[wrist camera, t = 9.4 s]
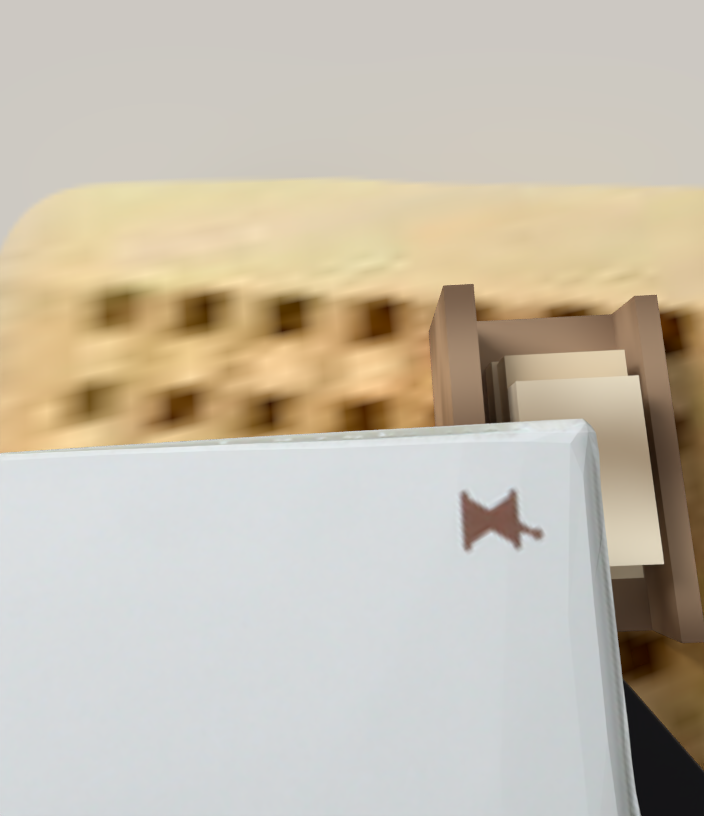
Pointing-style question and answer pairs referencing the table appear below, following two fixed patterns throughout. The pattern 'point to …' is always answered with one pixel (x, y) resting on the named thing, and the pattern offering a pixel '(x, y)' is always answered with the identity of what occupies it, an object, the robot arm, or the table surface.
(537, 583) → the supplement box
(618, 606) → the tray
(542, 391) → the offcut stack
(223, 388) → the table surface
